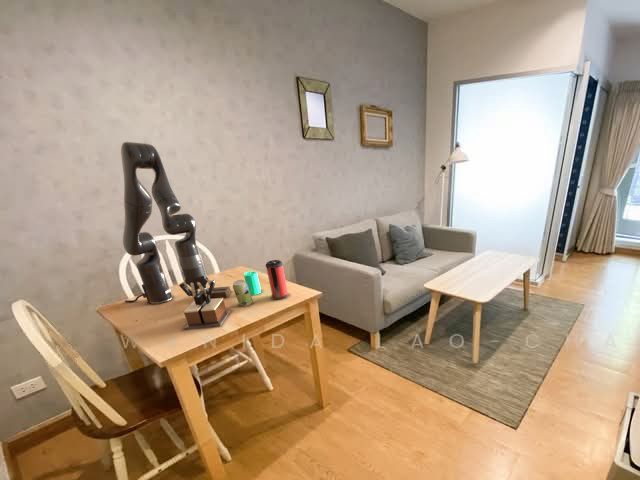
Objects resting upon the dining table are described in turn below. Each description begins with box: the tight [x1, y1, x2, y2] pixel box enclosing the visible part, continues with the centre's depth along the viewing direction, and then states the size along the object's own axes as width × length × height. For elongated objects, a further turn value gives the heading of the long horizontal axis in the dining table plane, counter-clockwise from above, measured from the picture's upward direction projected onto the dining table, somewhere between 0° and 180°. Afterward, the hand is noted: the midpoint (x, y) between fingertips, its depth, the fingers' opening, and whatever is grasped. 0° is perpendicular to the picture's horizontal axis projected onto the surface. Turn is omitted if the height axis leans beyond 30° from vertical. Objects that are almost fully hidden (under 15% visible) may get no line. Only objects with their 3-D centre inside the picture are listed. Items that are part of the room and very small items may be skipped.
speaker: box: [265, 259, 289, 300], centre depth 160 cm, size 8×8×18 cm
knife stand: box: [207, 286, 232, 299], centre depth 166 cm, size 11×8×3 cm
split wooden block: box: [183, 298, 231, 330], centre depth 141 cm, size 14×14×7 cm
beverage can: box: [232, 279, 253, 307], centre depth 153 cm, size 6×7×12 cm
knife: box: [193, 289, 206, 322], centre depth 140 cm, size 9×2×12 cm, turn 9°
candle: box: [243, 270, 262, 296], centre depth 166 cm, size 6×6×12 cm
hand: (203, 303), depth 139 cm, fingers open, 3 cm apart
